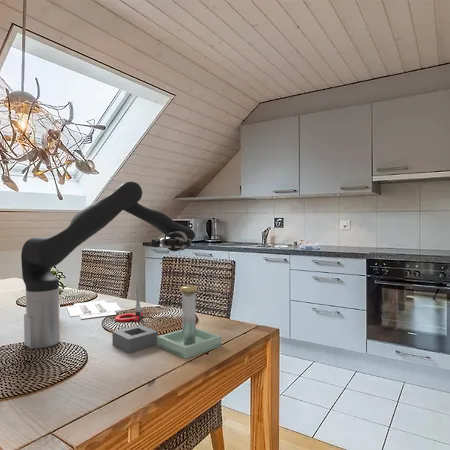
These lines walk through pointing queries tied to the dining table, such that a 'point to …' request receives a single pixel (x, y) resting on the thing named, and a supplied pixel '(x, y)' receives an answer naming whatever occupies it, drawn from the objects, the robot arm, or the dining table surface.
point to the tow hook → (135, 315)
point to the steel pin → (188, 314)
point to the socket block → (134, 338)
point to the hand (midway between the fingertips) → (167, 244)
